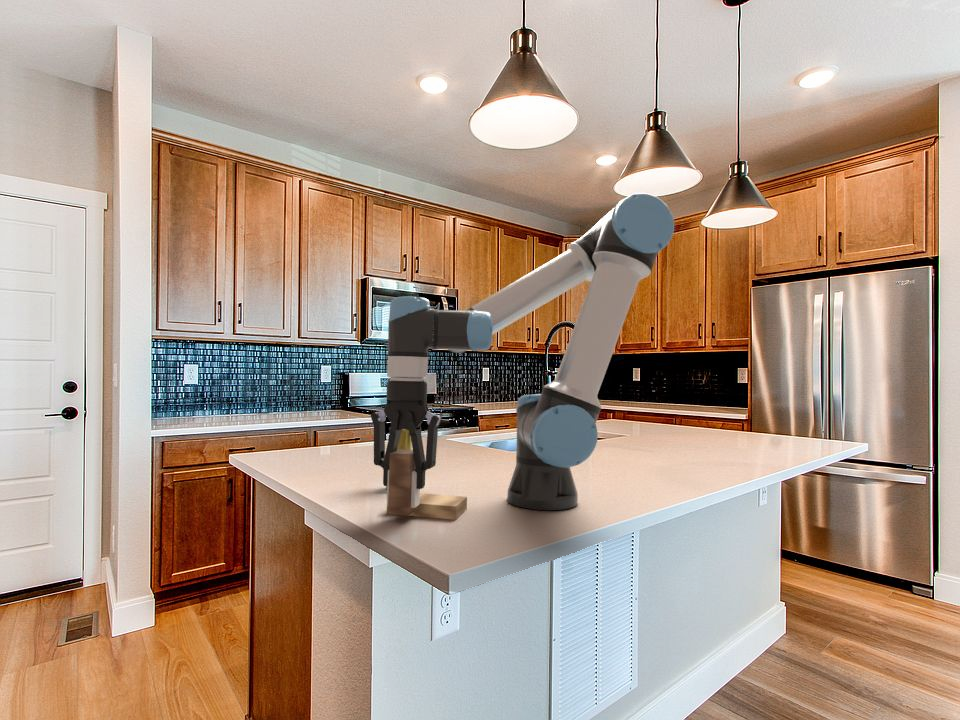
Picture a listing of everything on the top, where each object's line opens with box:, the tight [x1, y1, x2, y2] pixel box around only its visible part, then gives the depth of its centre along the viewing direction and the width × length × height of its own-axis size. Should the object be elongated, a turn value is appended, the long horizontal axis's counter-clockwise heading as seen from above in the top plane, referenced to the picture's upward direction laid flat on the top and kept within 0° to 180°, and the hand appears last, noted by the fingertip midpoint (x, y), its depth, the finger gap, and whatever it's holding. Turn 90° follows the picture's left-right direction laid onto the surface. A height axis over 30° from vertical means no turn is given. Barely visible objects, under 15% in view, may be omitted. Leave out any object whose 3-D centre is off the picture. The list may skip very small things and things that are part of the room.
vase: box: [385, 429, 412, 489], centre depth 124 cm, size 6×6×14 cm
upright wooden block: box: [388, 449, 418, 516], centre depth 101 cm, size 4×10×11 cm, turn 167°
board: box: [386, 492, 468, 521], centre depth 104 cm, size 14×8×3 cm, turn 76°
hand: (403, 504), depth 98 cm, fingers closed on upright wooden block, 4 cm apart
